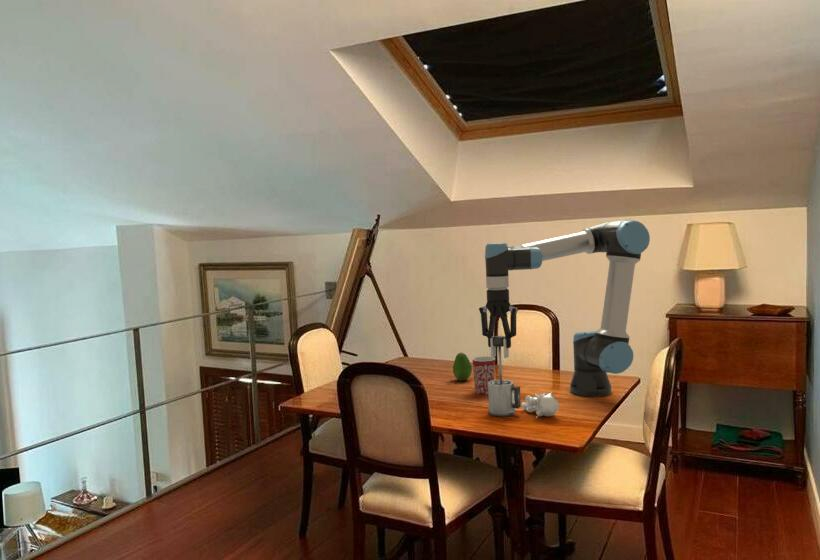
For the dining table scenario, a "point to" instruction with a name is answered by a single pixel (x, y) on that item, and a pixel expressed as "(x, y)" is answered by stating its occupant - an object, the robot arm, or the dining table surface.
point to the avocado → (462, 367)
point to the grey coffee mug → (503, 398)
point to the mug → (483, 373)
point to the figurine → (541, 404)
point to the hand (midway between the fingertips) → (499, 356)
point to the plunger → (499, 356)
